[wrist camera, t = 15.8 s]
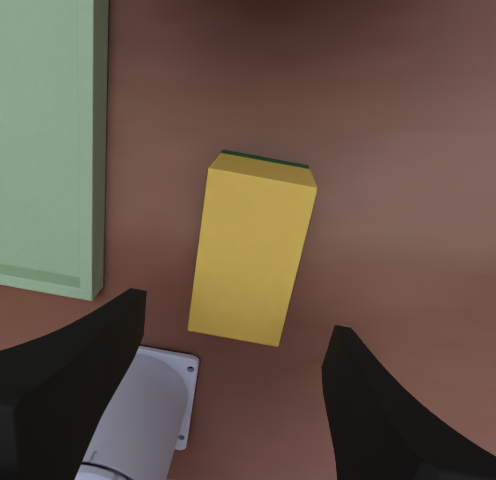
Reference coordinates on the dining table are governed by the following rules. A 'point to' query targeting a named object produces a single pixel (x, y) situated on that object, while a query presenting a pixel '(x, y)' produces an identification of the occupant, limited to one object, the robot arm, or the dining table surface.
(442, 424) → the robot arm
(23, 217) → the tray
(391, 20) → the dining table surface
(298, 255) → the sponge
